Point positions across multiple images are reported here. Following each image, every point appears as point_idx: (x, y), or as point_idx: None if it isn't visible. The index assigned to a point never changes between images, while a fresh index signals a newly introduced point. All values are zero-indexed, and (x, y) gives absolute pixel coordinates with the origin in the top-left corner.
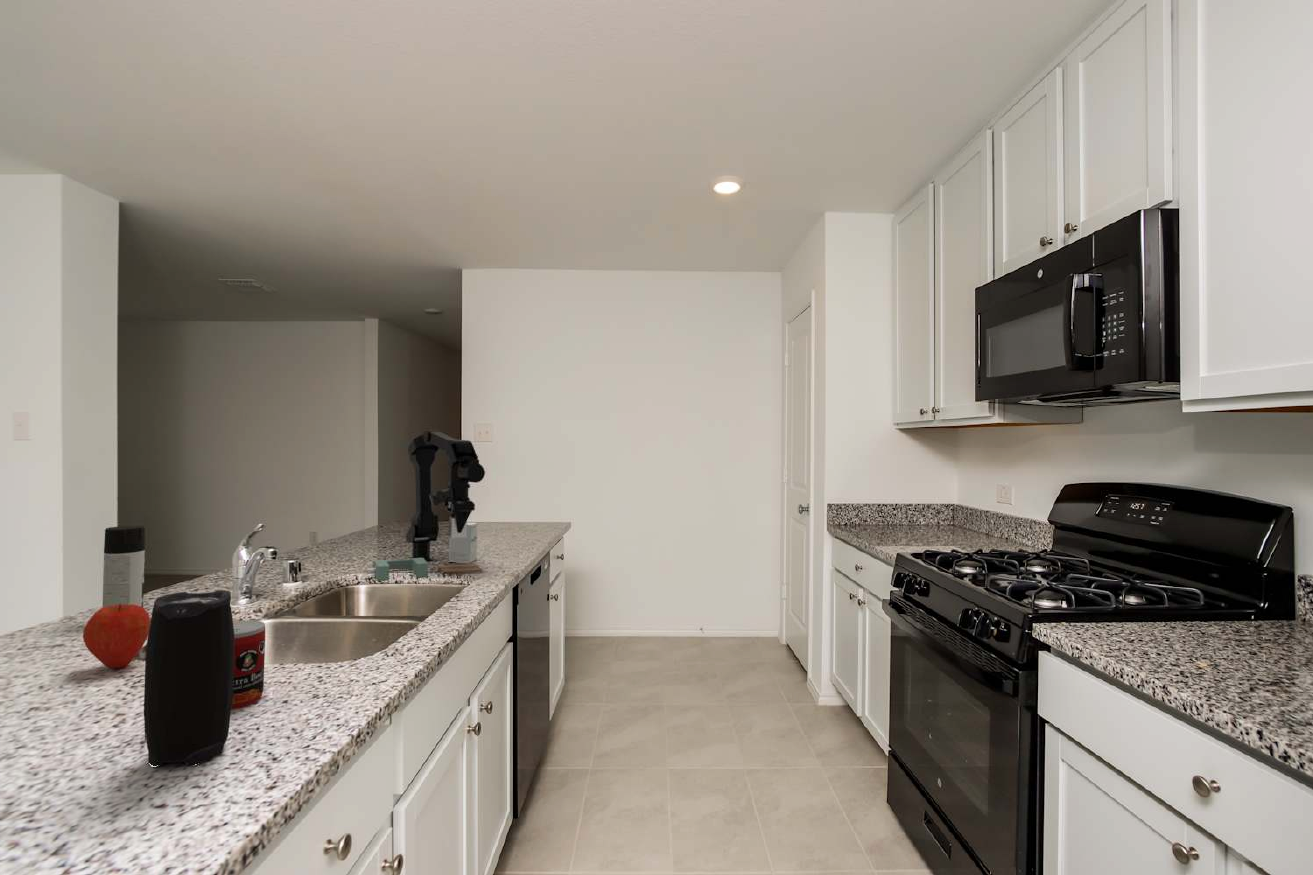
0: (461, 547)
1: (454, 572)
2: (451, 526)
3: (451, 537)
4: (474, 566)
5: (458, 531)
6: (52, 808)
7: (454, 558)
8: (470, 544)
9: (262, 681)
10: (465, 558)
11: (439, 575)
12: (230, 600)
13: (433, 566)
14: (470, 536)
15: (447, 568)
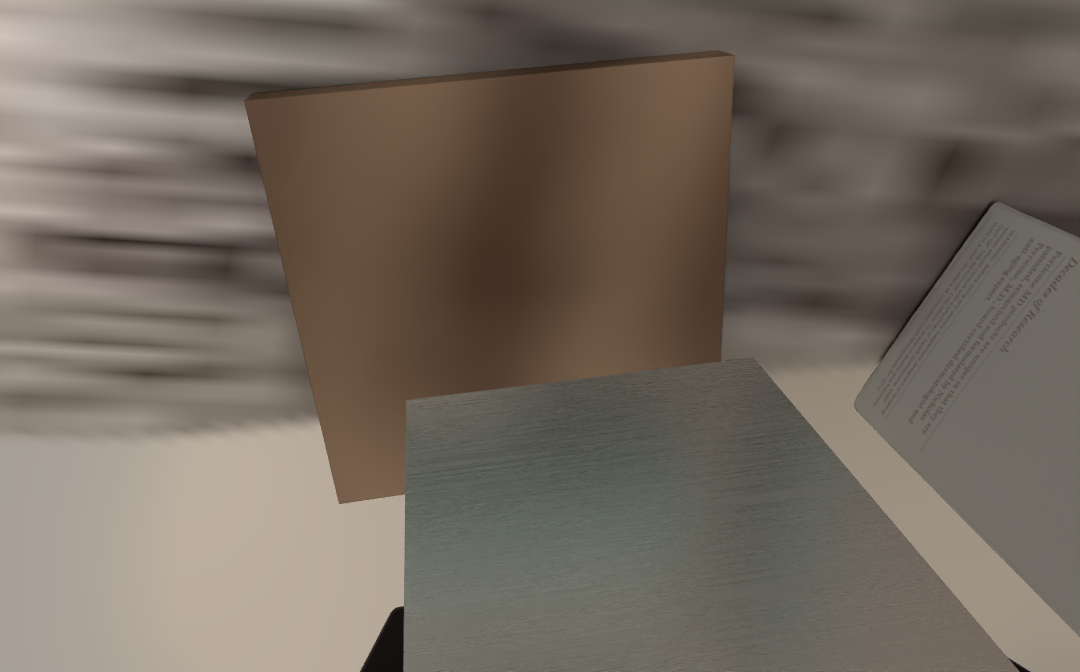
0: (1024, 418)
1: (278, 223)
2: (441, 604)
3: (408, 408)
4: None
5: (387, 642)
6: None
7: (982, 280)
8: (984, 538)
9: None
10: (907, 390)
11: (261, 30)
12: None
13: (891, 7)
14: (1066, 619)
15: (482, 158)
